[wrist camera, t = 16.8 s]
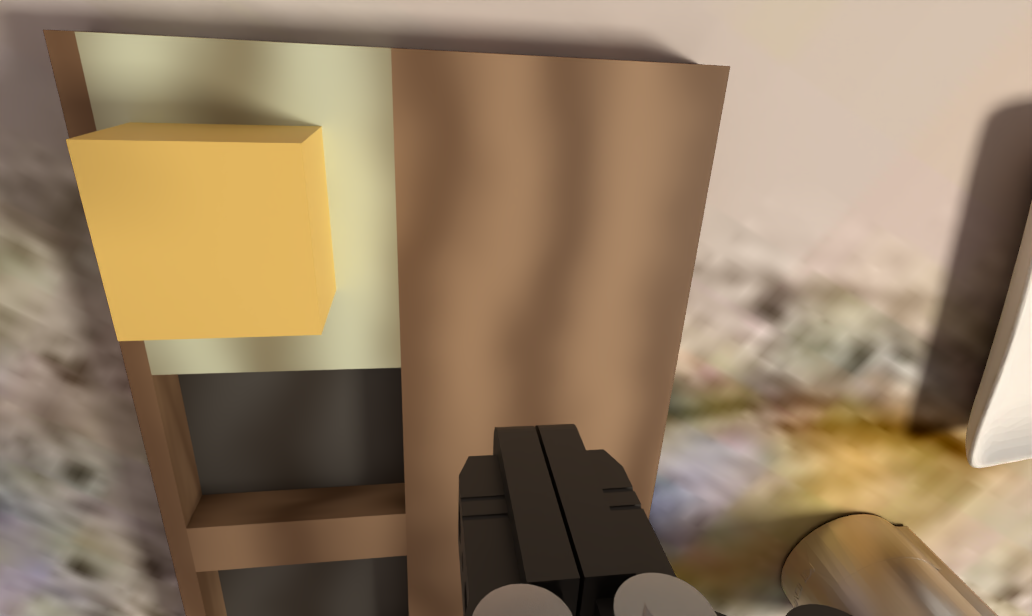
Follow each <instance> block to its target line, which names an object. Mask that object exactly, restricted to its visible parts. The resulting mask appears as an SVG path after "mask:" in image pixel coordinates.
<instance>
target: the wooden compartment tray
mask: <svg viewBox="0 0 1032 616" xmlns="http://www.w3.org/2000/svg"><path fill="white" fill-rule="evenodd" d="M43 32H44V36H45V40H46V44H47V48H48V52H49V56H50V60H51V65H52V69H53V73H54V77H55V81H56V85H57V89H58V93H59V97H60V101H61V106H62V110H63V114H64V118H65V122H66V126H67V130H68V134H69V138H73V137H77V136H80V135H84V134H88V133H92V132H95V131H99V130H103V129H106V128H110V127H114V126H118V125H121V124H125V123H129V122H140V123H188V124H235V125H283V126H322V136H323V147H324V158H325V170H326V181H327V192H328V203H329V214H330V225H331V237H332V248H333V259H334V270H335V281H336V292H335V295H334V298H333V301H332V304H331V307H330V310H329V313H328V316H327V319H326V322H325V325H324V329H323V332H322V335H302V336H270V337H238V338H205V339H173V340H141V341H119V343H120V348H121V352H122V356H123V360H124V364H125V368H126V372H127V376H128V380H129V384H130V389H131V393H132V397H133V401H134V405H135V409H136V413H137V417H138V421H139V425H140V430H141V434H142V438H143V442H144V446H145V450H146V454H147V458H148V462H149V466H150V471H151V475H152V479H153V483H154V487H155V491H156V495H157V499H158V503H159V507H160V512H161V516H162V520H163V524H164V528H165V532H166V536H167V540H168V544H169V549H170V553H171V557H172V561H173V565H174V569H175V573H176V577H177V581H178V585H179V590H180V594H181V598H182V602H183V606H184V610H185V614H186V616H463V603H462V587H461V575H460V561H459V547H458V500H459V474H460V472H461V470H462V468H463V466H464V464H465V463H466V461H467V459H468V457H469V456H482V455H493V439H494V429H495V427H512V426H534V427H535V426H536V425H555V424H575V425H576V427H577V429H578V432H579V434H580V437H581V439H582V441H583V444H584V446H585V449H586V450H599V449H604V450H605V451H606V452H607V453H608V454H610V455H611V456H612V457H613V458H614V459H615V460H616V461H617V462H618V463H620V464H621V465H622V466H623V468H624V470H625V472H626V474H627V476H628V478H629V480H630V482H631V484H632V486H633V491H635V493H636V495H637V497H638V499H639V501H640V503H641V508H642V509H644V511H645V513H646V515H647V518H648V520H649V514H650V509H651V503H652V497H653V492H654V486H655V481H656V475H657V470H658V464H659V459H660V453H661V448H662V442H663V436H664V431H665V425H666V420H667V414H668V409H669V403H670V398H671V392H672V386H673V381H674V375H675V370H676V364H677V359H678V353H679V348H680V342H681V337H682V331H683V325H684V320H685V314H686V309H687V303H688V298H689V292H690V287H691V281H692V276H693V270H694V264H695V259H696V253H697V248H698V242H699V237H700V231H701V226H702V220H703V215H704V209H705V203H706V198H707V192H708V187H709V181H710V176H711V170H712V165H713V159H714V153H715V148H716V142H717V137H718V131H719V126H720V120H721V115H722V109H723V104H724V98H725V92H726V87H727V81H728V76H729V70H730V66H717V65H702V64H684V63H665V62H647V61H628V60H609V59H590V58H572V57H553V56H534V55H516V54H497V53H478V52H459V51H441V50H422V49H403V48H385V47H366V46H347V45H328V44H310V43H291V42H272V41H254V40H235V39H216V38H197V37H179V36H160V35H141V34H123V33H104V32H85V31H60V30H43Z"/></svg>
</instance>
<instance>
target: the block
mask: <svg viewBox="0 0 1032 616" xmlns="http://www.w3.org/2000/svg"><path fill="white" fill-rule="evenodd" d="M66 142H67V146H68V150H69V154H70V158H71V162H72V166H73V170H74V173H75V177H76V181H77V185H78V189H79V193H80V197H81V200H82V204H83V208H84V212H85V216H86V220H87V224H88V228H89V231H90V235H91V239H92V243H93V247H94V251H95V255H96V258H97V262H98V266H99V270H100V274H101V278H102V282H103V286H104V289H105V293H106V297H107V301H108V305H109V309H110V313H111V316H112V320H113V324H114V328H115V332H116V336H117V340H118V341H141V340H173V339H205V338H238V337H270V336H302V335H322V332H323V329H324V325H325V322H326V319H327V316H328V313H329V310H330V307H331V304H332V301H333V298H334V295H335V292H336V281H335V270H334V259H333V248H332V237H331V225H330V214H329V203H328V192H327V181H326V170H325V158H324V147H323V136H322V126H283V125H235V124H188V123H140V122H129V123H125V124H121V125H118V126H114V127H110V128H106V129H103V130H99V131H95V132H92V133H88V134H84V135H80V136H77V137H73V138H69V139H66Z"/></svg>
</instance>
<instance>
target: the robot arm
mask: <svg viewBox="0 0 1032 616" xmlns="http://www.w3.org/2000/svg"><path fill="white" fill-rule="evenodd" d="M458 547H459V561H460V575H461V587H462V603H463V616H726V615H723V614H721V613H718V612H716V611H714V610H713V608H712V606H711V605H710V603H709V602H708V601H707V599H706V598H705V597H704V596H703V595H702V594H701V593H700V592H699V591H698V590H697V589H695V588H694V587H693V586H691V585H690V584H688V583H687V582H685V581H683V580H681V579H679V578H677V577H676V575H675V574H674V572H673V569H672V567H671V565H670V563H669V561H668V559H667V557H666V555H665V553H664V551H663V549H662V547H661V545H660V542H659V540H658V538H657V536H656V534H655V532H654V530H653V528H652V526H651V524H650V522H649V520H648V518H647V515H646V513H645V511H644V509H642V508H641V503H640V501H639V499H638V497H637V495H636V493H635V491H633V486H632V484H631V482H630V480H629V478H628V476H627V474H626V472H625V470H624V468H623V466H622V465H621V464H620V463H618V462H617V461H616V460H615V459H614V458H613V457H612V456H611V455H610V454H608V453H607V452H606V451H605V450H604V449H599V450H586V449H585V446H584V444H583V441H582V439H581V437H580V434H579V432H578V429H577V427H576V425H575V424H555V425H536V426H535V427H534V426H512V427H495V429H494V439H493V455H482V456H469V457H468V459H467V461H466V463H465V464H464V466H463V468H462V470H461V472H460V474H459V500H458ZM781 583H782V588H783V590H784V593H785V595H786V596H787V598H788V599H789V601H790V602H791V604H792V605H793V607H794V608H793V609H792V610H790V611H789V612H788V613H787V615H786V616H998V615H997V614H996V613H995V612H994V611H993V610H992V609H991V608H990V607H989V606H988V605H987V604H986V603H984V602H983V601H982V600H981V599H980V598H979V597H978V596H977V595H976V594H975V593H974V592H973V591H972V590H971V589H970V588H969V587H968V586H967V585H966V584H965V583H964V582H963V581H962V580H961V579H960V578H959V577H958V576H957V575H956V574H955V573H954V572H953V571H952V570H951V569H950V568H949V567H948V566H947V565H946V564H945V563H944V562H943V561H942V560H941V559H940V558H939V557H938V556H937V555H936V554H935V553H934V552H933V551H932V550H931V549H930V548H929V547H928V546H927V545H926V544H925V543H923V542H922V541H921V540H920V539H919V538H918V537H917V536H916V535H915V534H914V533H913V532H912V531H911V530H910V529H909V528H908V527H907V526H902V527H897V526H894V525H892V524H891V523H890V522H888V521H887V520H886V519H884V518H881V517H879V516H876V515H868V514H858V515H850V516H846V517H841V518H838V519H836V520H833V521H831V522H828V523H826V524H824V525H822V526H821V527H819V528H817V529H815V530H814V531H813V532H811V533H810V534H809V535H807V536H806V537H805V538H803V539H802V540H801V542H800V543H799V544H798V545H797V546H796V547H795V548H794V549H793V551H792V552H791V553H790V555H789V556H788V558H787V560H786V562H785V564H784V567H783V570H782V575H781Z"/></svg>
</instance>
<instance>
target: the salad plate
mask: <svg viewBox="0 0 1032 616" xmlns="http://www.w3.org/2000/svg"><path fill="white" fill-rule="evenodd" d="M966 454H967V459H968V462H969V464H970V465H971V466H972V467H976V468H983V467H989V466H994V465H999V464H1004V463H1010V462H1016V461H1021V460H1026V459H1031V458H1032V201H1031V206H1030V210H1029V214H1028V218H1027V222H1026V226H1025V230H1024V234H1023V238H1022V242H1021V245H1020V249H1019V252H1018V256H1017V260H1016V263H1015V267H1014V271H1013V274H1012V278H1011V282H1010V285H1009V289H1008V293H1007V296H1006V300H1005V304H1004V307H1003V310H1002V314H1001V317H1000V321H999V324H998V327H997V331H996V334H995V338H994V341H993V344H992V347H991V351H990V354H989V357H988V360H987V364H986V367H985V370H984V373H983V377H982V380H981V383H980V386H979V389H978V392H977V394H976V397H975V400H974V403H973V407H972V410H971V414H970V418H969V422H968V427H967V432H966Z"/></svg>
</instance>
